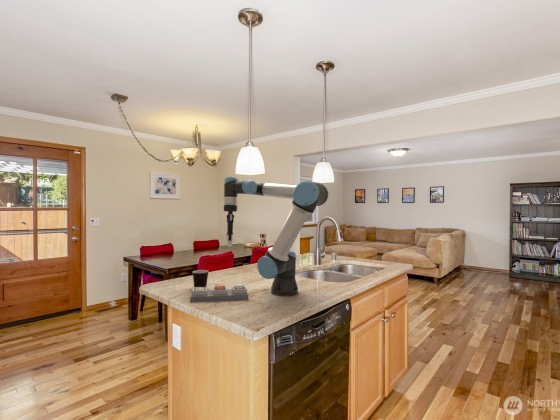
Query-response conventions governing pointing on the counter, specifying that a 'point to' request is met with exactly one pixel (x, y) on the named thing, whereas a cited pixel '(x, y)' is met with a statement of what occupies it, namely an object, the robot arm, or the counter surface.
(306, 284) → the counter surface
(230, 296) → the button panel
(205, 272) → the coffee mug
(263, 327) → the counter surface
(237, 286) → the button cream
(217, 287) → the button terracotta
